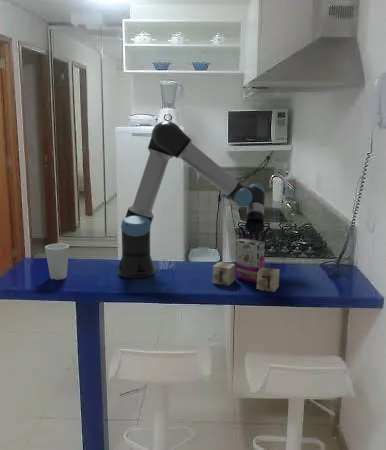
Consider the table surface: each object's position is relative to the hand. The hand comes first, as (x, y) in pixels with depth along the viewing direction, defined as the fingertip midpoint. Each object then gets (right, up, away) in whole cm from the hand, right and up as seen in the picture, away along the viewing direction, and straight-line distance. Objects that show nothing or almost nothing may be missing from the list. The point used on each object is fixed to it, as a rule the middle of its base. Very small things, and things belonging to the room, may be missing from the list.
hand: (252, 262), depth 200 cm
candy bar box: (-1, -7, -2) cm, 7 cm away
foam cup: (-79, -6, -2) cm, 80 cm away
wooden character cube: (-12, -7, -5) cm, 15 cm away
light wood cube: (+4, -9, -12) cm, 15 cm away
